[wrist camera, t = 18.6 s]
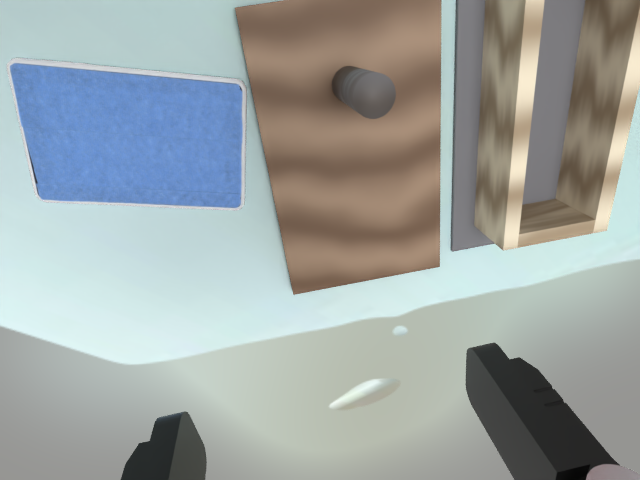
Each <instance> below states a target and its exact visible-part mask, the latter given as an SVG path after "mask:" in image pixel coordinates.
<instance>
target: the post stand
mask: <svg viewBox="0 0 640 480" xmlns="http://www.w3.org/2000/svg"><path fill="white" fill-rule="evenodd" d="M235 11H236V16H237V20H238V25H239V30H240V35H241V40H242V45H243V50H244V55H245V60H246V65H247V69H248V74H249V79H250V84H251V89H252V94H253V99H254V104H255V109H256V114H257V118H258V123H259V128H260V133H261V138H262V143H263V148H264V153H265V158H266V163H267V167H268V172H269V177H270V182H271V187H272V192H273V197H274V202H275V207H276V212H277V216H278V221H279V226H280V231H281V236H282V241H283V246H284V251H285V256H286V261H287V265H288V270H289V275H290V280H291V285H292V290H293V295H294V294H300V293H305V292H310V291H315V290H321V289H326V288H331V287H336V286H341V285H347V284H352V283H357V282H362V281H368V280H373V279H378V278H383V277H389V276H394V275H399V274H404V273H409V272H415V271H420V270H425V269H430V268H436V267H440V119H441V0H284V1H277V2H270V3H264V4H257V5H250V6H243V7H236V8H235Z"/></svg>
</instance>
